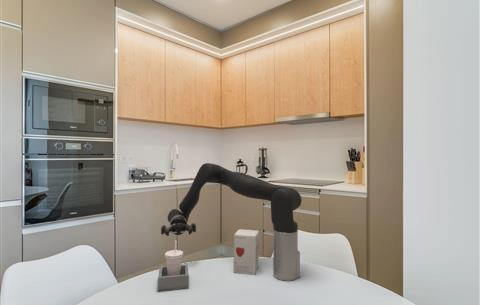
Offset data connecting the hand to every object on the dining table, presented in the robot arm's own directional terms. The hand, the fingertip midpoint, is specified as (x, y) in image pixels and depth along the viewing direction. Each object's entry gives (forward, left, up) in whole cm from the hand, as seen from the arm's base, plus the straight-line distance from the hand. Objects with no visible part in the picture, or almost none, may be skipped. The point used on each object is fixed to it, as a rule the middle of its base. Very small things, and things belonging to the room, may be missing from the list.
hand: (179, 232), depth 104 cm
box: (+2, +11, -15) cm, 19 cm away
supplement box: (-27, +5, -15) cm, 31 cm away
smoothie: (+2, +11, -14) cm, 18 cm away
